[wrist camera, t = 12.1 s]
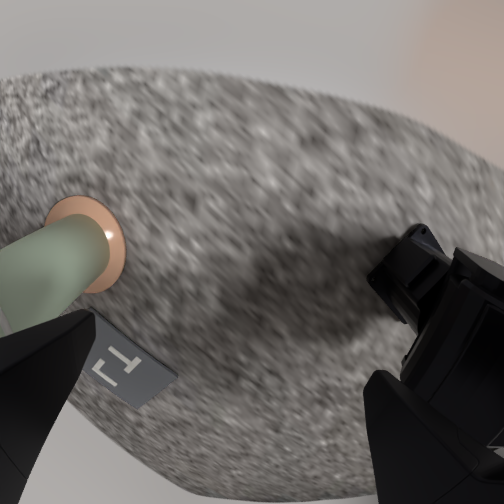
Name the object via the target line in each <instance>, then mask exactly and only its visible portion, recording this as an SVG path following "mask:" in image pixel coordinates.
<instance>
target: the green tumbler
mask: <svg viewBox="0 0 504 504" xmlns="http://www.w3.org/2000/svg"><path fill="white" fill-rule="evenodd" d="M109 259H110V248H109V243H108V239H107V237H106V235H105V233H104V231H103V229H102V228H101V227H100V225H99V224H98V223H97V222H96V221H95V220H93V219H92V218H90V217H89V216H87V215H84V214H71V215H69V216H67V217H65V218H62V219H60V220H58V221H56V222H54V223H52V224H49V225H47V226H45V227H43V228H41V229H39V230H37V231H35V232H33V233H31V234H29V235H27V236H25V237H23V238H21V239H19V240H17V241H15V242H13V243H11V244H10V245H8V246H6V247H4V248H2V249H0V338H1V337H4V336H7V335H10V334H12V333H15V332H18V331H21V330H24V329H26V328H29V327H32V326H35V325H38V324H40V323H43V322H46V321H49V320H52V319H54V318H57V317H58V316H59V315H60V314H61V313H62V312H63V311H64V310H65V309H66V308H67V307H68V306H69V305H70V304H71V303H72V302H73V301H74V300H75V299H76V298H77V297H78V296H79V295H80V294H81V293H82V292H83V291H85V290H86V289H87V288H88V287H89V286H90V285H91V284H92V283H93V282H94V281H95V280H96V279H97V278H98V277H99V276H100V275H101V274H102V273H103V272H104V271H105V270H106V268H107V266H108V263H109Z"/></svg>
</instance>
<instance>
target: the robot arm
mask: <svg viewBox="0 0 504 504" xmlns="http://www.w3.org/2000/svg"><path fill="white" fill-rule="evenodd" d="M423 228H424V231H423V232H422V233H421V230H422V229H423ZM453 255H454V258H453V260H452V259H450V258H449V257H447V256H446V255H445V253H444V252H443V250H442V248H441V247H440V245H439V244H438V242H437V240H436V239H435V237H434V236H433V234H432V232H431V231H430V229H429V228H428V226H427V225H425V224H419V225H418V226H417V227H416V228H415V229H414V230H413V231H412V232H411V233H410V234H409V235H408V237H405V238H404V239H403V240H402V241H401V242H400V243H399V244H398V245H397V246H396V247H395V248H394V249H393V250H392V251H391V252H390V253H389V254H388V255H387V256H386V257H385V258H384V260H383V261H382V262H381V263H380V264H379V265H378V266H377V267H376V268H375V269H374V270H373V271H372V272H371V273H370V274H369V275H368V276H367V282H368V283H369V285H370V286H371V287H372V288H373V289H374V290H375V291H376V293H377V294H378V295H379V296H380V297H381V298H382V299H383V301H384V302H385V303H386V304H387V305H388V306H389V308H390V309H391V310H392V311H393V312H394V313H395V315H396V316H397V317H398V318H399V319H400V320H401V322H402V323H403V324H409V326H410V327H411V328H412V330H413V331H414V332H415V334H416V335H417V338H416V339H415V341H414V343H413V345H412V347H411V348H410V350H409V352H408V354H407V355H405V356H404V358H403V360H402V362H401V363H402V369H401V373H400V380H401V381H399V380H398V379H397V378H396V377H394V376H393V375H392V374H391V373H389V372H388V371H386V370H376V371H374V372H373V374H372V376H371V377H370V379H369V381H368V382H367V384H366V385H365V387H364V390H363V398H364V408H365V419H366V429H367V436H368V441H369V446H370V452H371V458H372V463H373V469H374V475H375V482H376V488H377V495H378V502H379V504H504V458H502V457H501V456H499V455H498V454H496V453H495V452H493V451H492V450H490V449H488V448H487V447H493V448H504V267H503V266H501V265H500V264H498V263H496V262H494V261H491V260H489V259H487V258H484V257H482V256H479V255H476V254H474V253H471V252H469V251H466V250H463V249H461V248H458V247H456V248H455V251H454V253H453ZM374 277H375V280H374V281H371V280H372V278H374ZM95 338H96V322H95V314H94V313H93V312H92V311H89V310H86V309H80V310H77V311H74V312H71V313H68V314H66V315H63V316H60V317H57V318H54V319H52V320H49V321H46V322H43V323H40V324H38V325H35V326H32V327H29V328H26V329H24V330H21V331H18V332H15V333H12V334H10V335H7V336H4V337H1V338H0V504H18V503H19V500H20V497H21V495H22V492H23V490H24V488H25V485H26V483H27V479H28V478H29V475H30V473H31V471H32V468H33V466H34V464H35V462H36V460H37V457H38V455H39V453H40V451H41V449H42V447H43V445H44V443H45V441H46V439H47V436H48V434H49V432H50V430H51V428H52V426H53V424H54V423H55V421H56V419H57V417H58V415H59V413H60V411H61V409H62V407H63V405H64V403H65V402H66V400H67V398H68V396H69V394H70V392H71V391H72V389H73V387H74V385H75V384H76V382H77V380H78V378H79V376H80V373H81V371H82V369H83V366H84V364H85V362H86V359H87V357H88V355H89V353H90V350H91V348H92V346H93V344H94V341H95Z"/></svg>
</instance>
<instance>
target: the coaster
mask: <svg viewBox="0 0 504 504" xmlns="http://www.w3.org/2000/svg"><path fill="white" fill-rule="evenodd" d="M71 214H84V215H87V216H89V217H90V218H92V219H93V220H95V221H96V222H97V223H98V224H99V225H100V227H101V228H102V229H103V231H104V233H105V235H106V237H107V239H108V243H109V248H110V259H109V263H108V266H107V268H106V270H105V271H104V272H103V273H102V274H101V275H100V276H99V277H98V278H97V279H96V280H95V281H94V282H93V283H92V284H91V285H90V286H89V287H88V288H87V289H86V290H85V291H83V292H84V293H99V292H102V291H105V290H106V289H108V288H109V287H111V286H112V285H113V284H114V283H115V282H116V280H117V279H118V278H119V277H120V275H121V274H122V271H123V269H124V266H125V262H126V242H125V237H124V234H123V231H122V228H121V226H120V224H119V222H118V220H117V219H116V217H115V216H114V214H113V213H112V212H111V211H110V210H109V209H108V207H106V206H105V205H104V204H103V203H101V202H100V201H98V200H96V199H94V198H92V197H89V196H84V195H75V196H71V197H68V198H65V199H63V200H61V201H60V202H58V203H57V204H56V205H55V206H54V207H53V208H52V209H51V211H50V212H49V214H48V216H47V218H46V221H45V225H44V227H45V226H47V225H49V224H52V223H54V222H56V221H58V220H60V219H62V218H65V217H67V216H69V215H71Z"/></svg>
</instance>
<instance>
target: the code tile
mask: <svg viewBox="0 0 504 504" xmlns="http://www.w3.org/2000/svg"><path fill="white" fill-rule="evenodd" d="M89 311H92V312H93V313H94V314H95V322H96V338H95V341H94V344H93V346H92V348H91V350H90V353H89V355H88V357H87V359H86V362H85V364H84V366H83V369H82V370H84V371H85V372H86V373H87V374H89V375H90V376H91V377H92V378H94V379H95V380H96V381H98V382H99V383H100V384H102V385H103V386H104V387H106V388H107V389H108V390H110V391H111V392H112V393H114V394H115V395H117V396H118V397H120V398H121V399H122V400H124V401H125V402H127V403H128V404H130V405H131V406H133V407H134V408H136V409H138V408H140V407H141V406H142V405H143V404H145V403H146V402H147V401H149V400H150V399H151V398H152V397H154V396H155V395H156V394H158V393H159V392H160V391H161V390H163V389H164V388H165V387H166V386H168V385H169V384H170V383H171V382H173V381H174V380H175V379H176V378H178V375H177V374H176V373H174V372H173V371H171V370H170V369H168V368H167V367H166V366H164V365H163V364H161V363H160V362H159V361H157V360H156V359H154V358H153V357H152V356H150V355H149V354H148V353H146V352H145V351H144V350H142V349H141V348H140V347H139V346H137V345H136V344H135V343H133V342H132V341H131V340H130V339H128V338H127V337H126V336H125V335H123V334H122V333H121V332H120V331H118V330H117V329H116V328H115V327H114V326H112V325H111V324H110V323H109V322H108V321H107V320H105V319H104V318H103V317H102V316H101V315H100V314H98V313H97V312H96V311H95V310H94V309H93V308H92V307H91V308H90V309H89Z"/></svg>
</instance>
